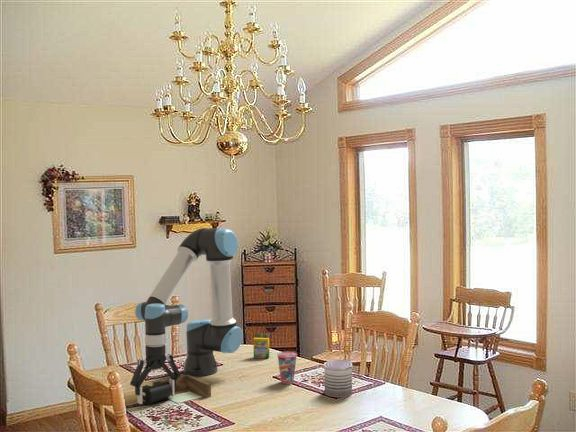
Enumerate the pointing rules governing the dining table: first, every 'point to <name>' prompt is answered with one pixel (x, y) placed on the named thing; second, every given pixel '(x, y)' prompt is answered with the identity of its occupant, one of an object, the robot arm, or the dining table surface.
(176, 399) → the pad
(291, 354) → the cup
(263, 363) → the dining table surface
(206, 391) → the brown l-shaped piece
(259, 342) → the crayon box
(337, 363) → the can
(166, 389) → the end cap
